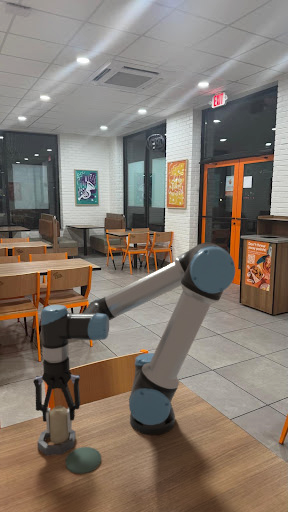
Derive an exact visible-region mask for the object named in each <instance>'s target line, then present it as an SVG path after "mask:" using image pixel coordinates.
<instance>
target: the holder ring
mask: <svg viewBox="0 0 288 512" xmlns="http://www.w3.org/2000/svg"><path fill="white" fill-rule="evenodd" d="M76 436H77V434H76V431H75V430H74V429H73V428H71V432H69V439H68V440H67V441H66V442H64V443H61V444H48V443H47V442H46V441H47V440H48V439H51V437H50V433H47V429H45V430H42V431H41V432H40V434H39V437H38V439H37V449H38V450H39V451H40V452H41V453H43V454H44V455H45V456H62V455H64V454H65V453H67V452H69V451H70V450H71V449H73V448H74V446H75V442H76V439H77V438H76Z"/></svg>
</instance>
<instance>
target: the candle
mask: <svg viewBox="0 0 288 512" xmlns="http://www.w3.org/2000/svg"><path fill="white" fill-rule="evenodd" d="M50 410H51V411H50V413H49V417H50V441H51V443H53V445H60V444H62V443H64V442H66V441H67V440H69V432H68V424H67V411H68V408H66V407H65V406H63V405H56V406H54V407H53V408H52V409H50Z"/></svg>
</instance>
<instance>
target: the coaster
mask: <svg viewBox="0 0 288 512" xmlns="http://www.w3.org/2000/svg"><path fill="white" fill-rule="evenodd" d="M101 462H102V456H101V453H100V451H99V450H97V449H96V448H94V447H91V446H90V447H89V446H83V447H78V448H75V449H74V450H71V451H70V452H69V453H68V454H67V456H66V457H65V467H66V468H67V470H68V471H70V472H71V473H74V474H77V475H78V474H87V473H90V472H93V471H94V470H96V469H97V468H98V467H99V465H101Z"/></svg>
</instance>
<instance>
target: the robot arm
mask: <svg viewBox="0 0 288 512" xmlns="http://www.w3.org/2000/svg"><path fill="white" fill-rule="evenodd" d="M235 265H236V264H235V261H234V259H233V257H232V256H231V254H230V253H229V252H228V251H227V250H226V249H224V248H223V247H222V246H220V245H218V244H217V243H214V242H209V241H207V242H202V243H199V244H197V245H195V246H193V247H191V249H189V250H188V251H185V252H184V253H182V254H180V255H178V256H177V257H176V258H175V260H174V261H173V262H172V263H169V264H168V265H166V266H164V267H162V268H160V269H158V270H155V271H154V272H152V273H150V274H147V275H145V276H143V277H141V278H140V279H137V280H136V281H134V282H131V283H130V284H128V285H126V286H123V287H122V288H120V289H118V290H116V291H114V292H112V293H109V294H108V295H106V296H104V297H102V298H97V299H94V300H93V301H91V302H89V304H88V305H87V307H86V308H85V309H84V311H83V312H81V313H80V312H79V313H78V312H77V313H74V312H73V313H72V312H69V311H68V308H67V306H66V305H64V304H63V305H62V304H51V305H47V306H45V307H43V308H42V309H41V312H40V327H41V328H40V329H41V341H42V342H41V344H42V345H41V346H42V359H43V360H42V363H43V374H42V375H40V376H39V375H36V376H35V378H34V379H33V384H34V388H35V410H36V411H40V412H42V421H43V422H46V430H47V433H50V417H49V413H50V411H51V410H52V409H51V407H49V403H50V400H51V396H52V393H53V390H55V389H58V390H60V389H61V392H62V394H63V396H64V399H65V402H66V404H67V410H68V411H67V424H68V432H71V429H73V428H72V427H73V424H72V423H73V421H74V420H75V417H76V415H75V410H79V409H80V408H81V394H80V383H79V382H80V378H81V374H76V375H74V374H72V372H71V370H70V357H69V355H70V349H69V347H70V346H69V344H70V343H69V340H77V341H78V340H80V341H85V340H86V341H102V340H106V339H107V338H108V336H109V332H110V321H112V320H113V319H115V318H116V317H117V318H118V317H119V316H121V315H123V314H125V313H127V312H129V311H131V310H133V309H135V308H137V307H139V306H142V305H143V304H145V303H148V302H150V301H152V300H153V299H156V298H158V297H160V296H162V295H165V294H166V293H169V292H170V291H173V290H175V289H176V288H179V287H181V289H182V291H181V294H180V296H179V298H178V301H177V302H176V305H175V307H174V309H173V311H172V313H171V316H170V318H169V319H168V322H167V324H166V327H165V329H164V331H163V333H162V335H161V337H160V339H159V343H158V345H156V346H157V347H156V349H155V351H154V353H153V352H148V353H142V354H138V356H136V357H135V358H134V360H135V361H134V370H135V371H134V378H133V382H132V387H131V392H130V396H129V399H128V403H129V404H128V406H129V407H128V408H129V411H130V415H129V420H130V421H129V423H130V426H131V427H132V428H133V430H135V431H137V432H139V433H141V434H144V435H147V436H149V435H150V436H151V435H153V436H155V435H157V436H158V435H162V434H165V433H168V432H169V431H171V430H172V429H173V428H174V427H175V424H176V414H175V411H174V408H173V405H172V400H173V398H174V396H175V393H176V392H177V389H178V387H179V385H180V382H179V378H178V375H179V373H180V370H181V368H182V366H183V364H184V362H185V360H186V358H187V356H188V354H189V351H190V349H191V347H192V345H193V343H194V341H195V339H196V337H197V334H198V332H199V330H200V328H201V326H202V324H203V322H204V319H205V317H206V315H207V313H208V312H209V309H210V307H211V305H212V304H215V303H218V302H219V301H220V299H221V297H222V295H223V293H224V291H225V290H226V289H228V288H229V287H230V285H231V284H232V283H233V281H234V279H235V275H236V266H235ZM70 380H71V382H72V384H73V396H74V400H73V397H72V393H71V391H70V389H69V385H68V383H69V381H70ZM43 382H44V383H45V384H46V385H47V388H46V389H47V390H46V394H45V397H44V402H43V401H42V399H43V394H42V393H43V392H42V391H43V388H42V387H43V386H42V383H43ZM42 403H43V404H42Z"/></svg>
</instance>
